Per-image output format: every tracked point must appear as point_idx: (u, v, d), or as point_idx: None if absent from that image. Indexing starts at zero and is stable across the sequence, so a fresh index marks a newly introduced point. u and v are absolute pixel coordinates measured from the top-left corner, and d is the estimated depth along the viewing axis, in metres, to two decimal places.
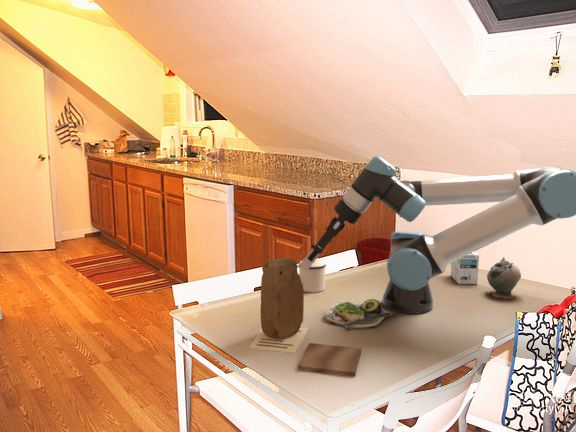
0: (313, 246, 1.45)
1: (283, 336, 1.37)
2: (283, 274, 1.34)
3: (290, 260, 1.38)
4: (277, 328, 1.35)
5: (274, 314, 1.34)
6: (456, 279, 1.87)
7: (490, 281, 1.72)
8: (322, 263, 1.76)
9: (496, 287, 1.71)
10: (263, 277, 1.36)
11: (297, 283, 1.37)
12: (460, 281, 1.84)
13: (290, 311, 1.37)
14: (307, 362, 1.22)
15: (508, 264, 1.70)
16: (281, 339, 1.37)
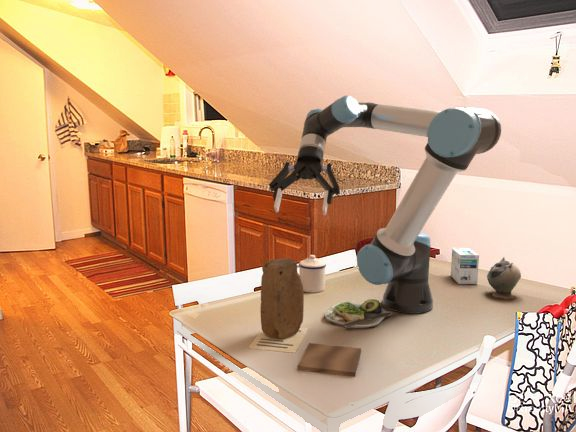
0: None
1: (283, 336, 1.37)
2: (283, 274, 1.34)
3: (290, 260, 1.38)
4: (277, 328, 1.35)
5: (274, 314, 1.34)
6: (456, 279, 1.87)
7: (490, 281, 1.72)
8: (322, 263, 1.76)
9: (496, 287, 1.71)
10: (263, 277, 1.36)
11: (297, 283, 1.37)
12: (460, 281, 1.84)
13: (290, 311, 1.37)
14: (307, 362, 1.22)
15: (508, 264, 1.70)
16: (281, 339, 1.37)
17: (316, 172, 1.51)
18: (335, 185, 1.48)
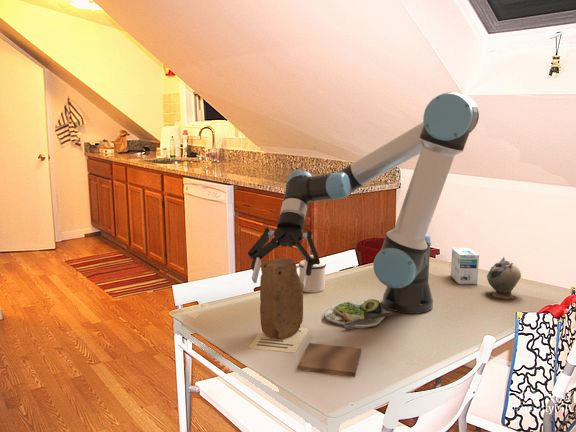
0: None
1: (283, 336, 1.37)
2: (282, 274, 1.34)
3: (289, 260, 1.38)
4: (277, 328, 1.35)
5: (273, 314, 1.34)
6: (456, 279, 1.87)
7: (490, 281, 1.72)
8: (322, 263, 1.76)
9: (496, 287, 1.71)
10: (262, 277, 1.36)
11: (296, 283, 1.37)
12: (460, 281, 1.84)
13: (290, 311, 1.37)
14: (307, 362, 1.22)
15: (508, 264, 1.70)
16: (281, 339, 1.37)
17: (295, 240, 1.47)
18: (315, 256, 1.44)
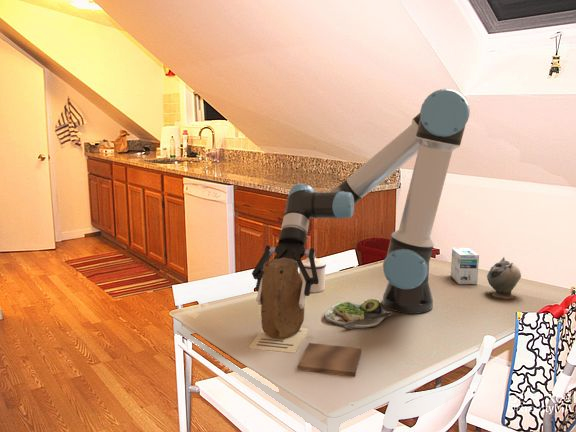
0: None
1: (283, 336, 1.37)
2: (284, 273, 1.34)
3: (291, 260, 1.38)
4: (277, 327, 1.35)
5: (274, 313, 1.35)
6: (456, 279, 1.87)
7: (490, 281, 1.72)
8: (322, 263, 1.76)
9: (496, 287, 1.71)
10: (264, 276, 1.37)
11: (298, 282, 1.38)
12: (460, 281, 1.84)
13: (291, 311, 1.37)
14: (307, 362, 1.22)
15: (508, 264, 1.70)
16: (281, 339, 1.37)
17: (296, 257, 1.42)
18: (314, 275, 1.39)
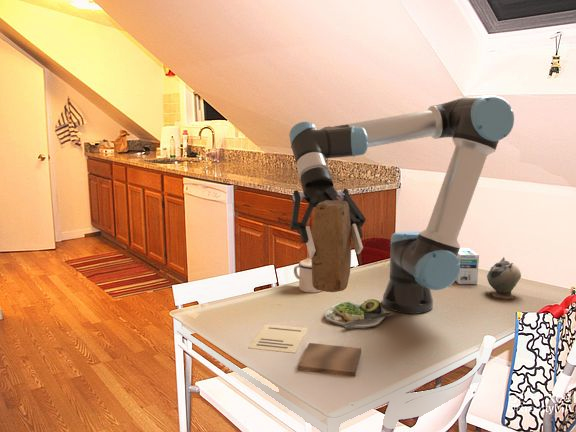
0: (298, 230, 1.21)
1: (343, 288, 1.19)
2: (344, 215, 1.16)
3: (339, 201, 1.20)
4: (340, 278, 1.17)
5: (338, 262, 1.16)
6: (456, 279, 1.87)
7: (490, 281, 1.72)
8: None
9: (496, 287, 1.71)
10: (318, 222, 1.16)
11: (349, 226, 1.21)
12: (460, 281, 1.84)
13: (347, 258, 1.20)
14: (307, 362, 1.22)
15: (508, 264, 1.70)
16: (281, 339, 1.37)
17: None
18: (360, 216, 1.24)
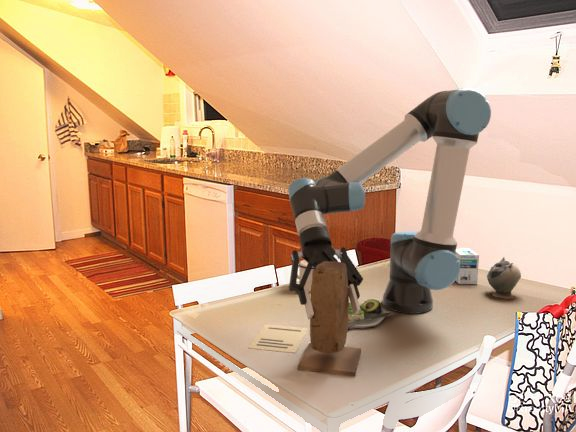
0: None
1: (341, 349, 1.21)
2: (342, 278, 1.18)
3: (337, 262, 1.23)
4: (338, 341, 1.19)
5: (336, 325, 1.18)
6: (456, 279, 1.87)
7: (490, 281, 1.72)
8: None
9: (496, 287, 1.71)
10: (317, 286, 1.18)
11: (347, 287, 1.23)
12: (460, 281, 1.84)
13: (344, 319, 1.22)
14: (307, 362, 1.22)
15: (508, 264, 1.70)
16: (281, 339, 1.37)
17: (333, 259, 1.27)
18: (358, 276, 1.26)
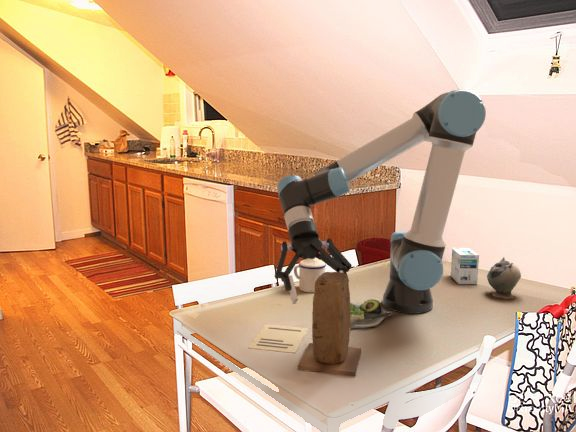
0: (281, 278, 1.33)
1: (343, 359, 1.22)
2: (344, 290, 1.19)
3: (339, 273, 1.23)
4: (341, 351, 1.20)
5: (338, 337, 1.18)
6: (456, 279, 1.87)
7: (490, 281, 1.72)
8: (322, 263, 1.76)
9: (496, 287, 1.71)
10: (319, 297, 1.19)
11: (349, 297, 1.24)
12: (460, 281, 1.84)
13: (346, 330, 1.23)
14: (307, 362, 1.22)
15: (508, 264, 1.70)
16: (281, 339, 1.37)
17: (321, 250, 1.36)
18: (346, 263, 1.37)
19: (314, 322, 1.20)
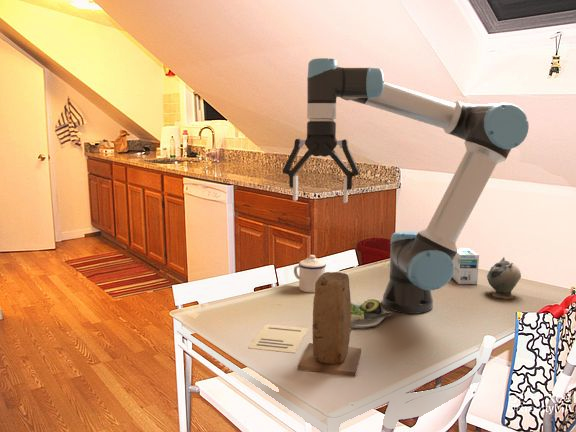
0: None
1: (343, 359, 1.22)
2: (345, 290, 1.19)
3: (339, 273, 1.23)
4: (341, 352, 1.20)
5: (339, 337, 1.18)
6: (456, 279, 1.87)
7: (490, 281, 1.72)
8: (322, 263, 1.76)
9: (496, 287, 1.71)
10: (319, 297, 1.18)
11: (349, 297, 1.24)
12: (460, 281, 1.84)
13: (347, 330, 1.23)
14: (307, 362, 1.22)
15: (508, 264, 1.70)
16: (281, 339, 1.37)
17: (331, 154, 1.37)
18: (354, 170, 1.37)
19: (314, 322, 1.20)
